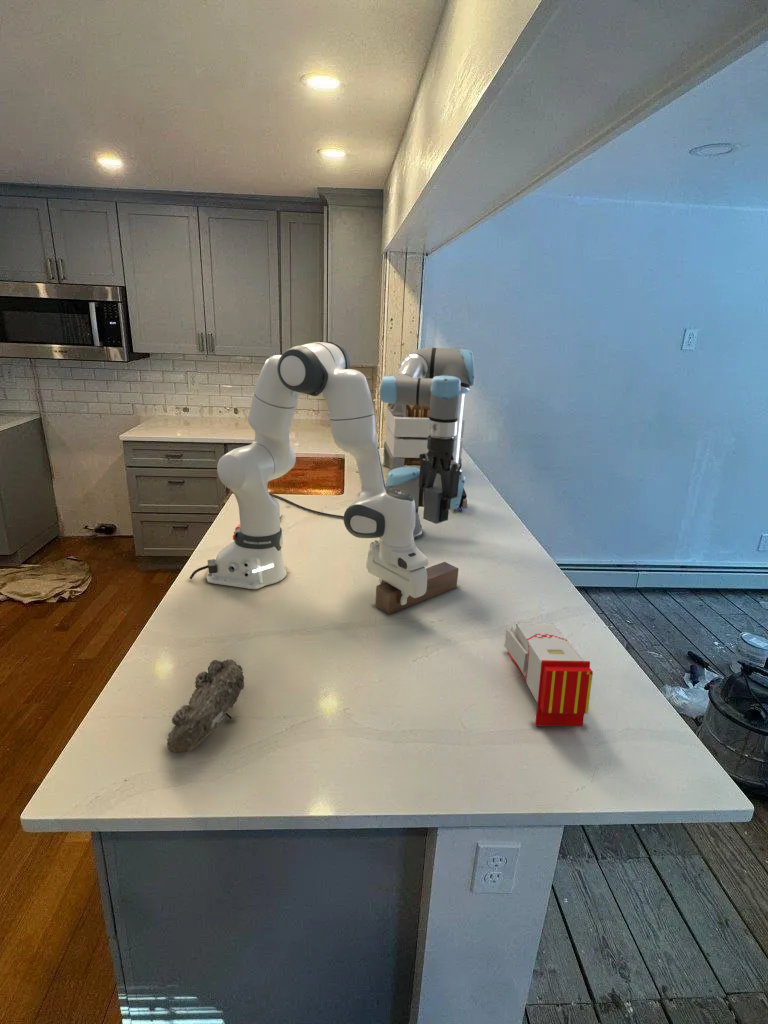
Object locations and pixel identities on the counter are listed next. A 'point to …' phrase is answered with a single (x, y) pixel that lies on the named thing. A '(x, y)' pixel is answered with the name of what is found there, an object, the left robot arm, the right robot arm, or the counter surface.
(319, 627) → the counter surface
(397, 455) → the white wooden box
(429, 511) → the grey block
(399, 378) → the right robot arm
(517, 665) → the toy
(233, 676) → the fossil
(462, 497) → the figurine character
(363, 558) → the counter surface
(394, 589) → the walnut rail
